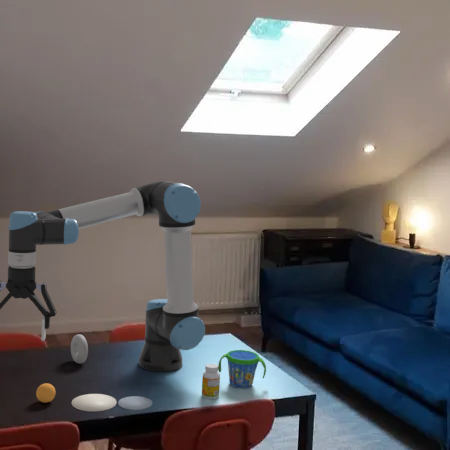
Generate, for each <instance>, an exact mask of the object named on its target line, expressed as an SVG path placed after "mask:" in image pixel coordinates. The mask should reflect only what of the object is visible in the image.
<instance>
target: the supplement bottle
mask: <svg viewBox="0 0 450 450" xmlns="http://www.w3.org/2000/svg"><path fill="white" fill-rule="evenodd" d="M218 365H219V364H216V363H207V364H205V367H204V369H205V371H203V372H202V383H201V396H202V397H203V398H205V399H209V400H211V399H213V400H214V399H218V398H219V396H220V383H221V372H219V370H218Z"/></svg>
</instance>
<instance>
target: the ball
mask: <svg viewBox="0 0 450 450" xmlns="http://www.w3.org/2000/svg"><path fill="white" fill-rule="evenodd" d="M56 393H57V392H56V388H55V386H54V385H52V384H51V383H47V382H46V383H42V384H40V385H39V386H38V387H37V389H36V392H35V395H36V398H37V400H38V401H39V402H41V403H50V402H52V401H53V399H55V398H56V397H55V396H56Z"/></svg>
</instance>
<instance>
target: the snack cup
mask: <svg viewBox="0 0 450 450" xmlns="http://www.w3.org/2000/svg"><path fill="white" fill-rule="evenodd" d="M224 358H226V359H227V367H228V368H227V369H228V376H229V377H228V381H229V384H230V385H231V386H232V387H234V388H243V389H246V388H250V387H252V386H253V384H254V379H255V375H256V371H257V369H258V368H257V367H258V365H259V363H261V365H262V366H263V369H264V370H263V375H262V379H264V378H265V376H266V372H267V365H266V361H264V359H262V358H261V357H260V356H259V354H258V353H256V352H254V351H250V350H245V349H244V350H243V349H235V350H230V351H228V352H226V353H225V354H223V355H222V356H221V357H220V359H219V361H218V364H217V365H218V372H219V373H221V372H222V359H224Z"/></svg>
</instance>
